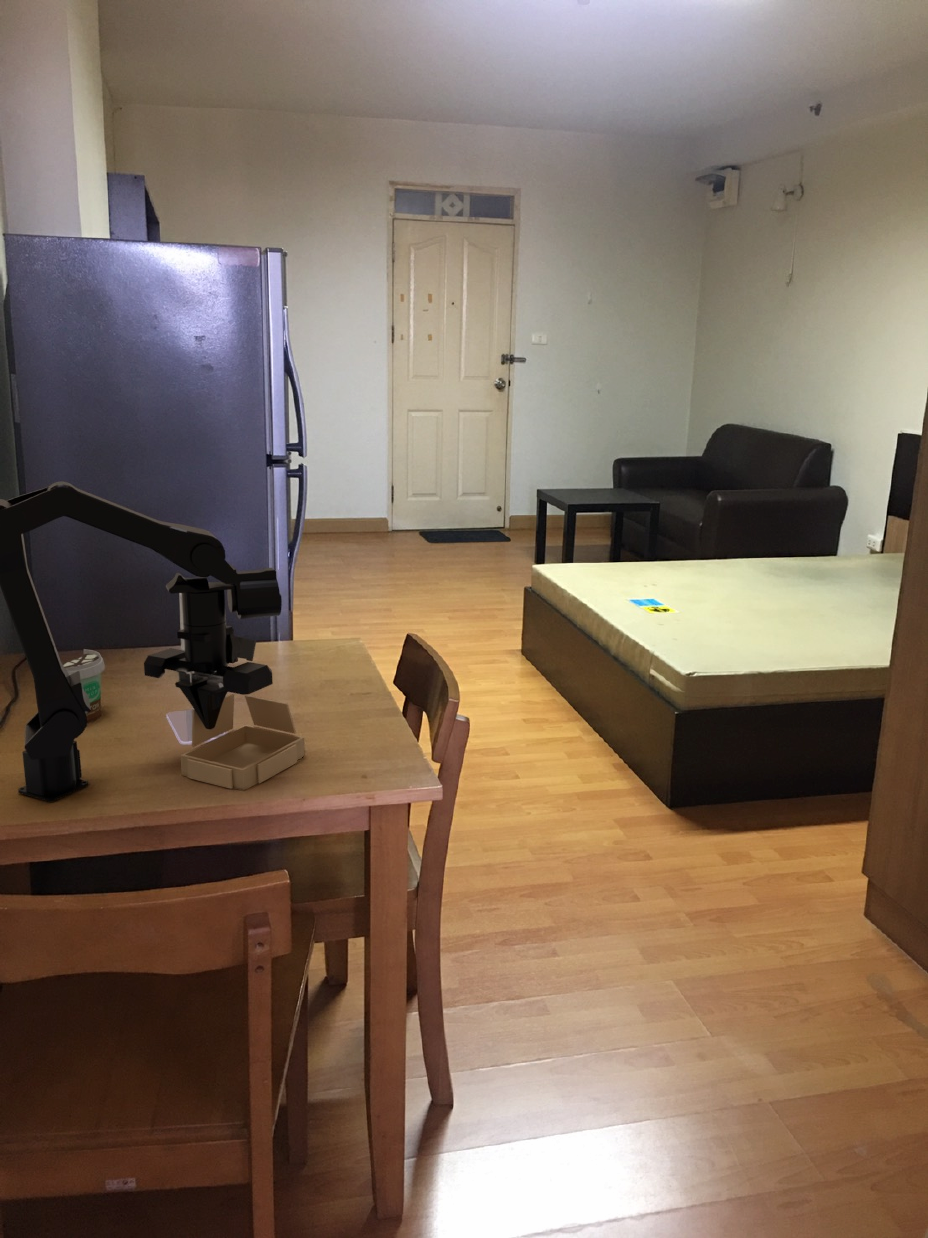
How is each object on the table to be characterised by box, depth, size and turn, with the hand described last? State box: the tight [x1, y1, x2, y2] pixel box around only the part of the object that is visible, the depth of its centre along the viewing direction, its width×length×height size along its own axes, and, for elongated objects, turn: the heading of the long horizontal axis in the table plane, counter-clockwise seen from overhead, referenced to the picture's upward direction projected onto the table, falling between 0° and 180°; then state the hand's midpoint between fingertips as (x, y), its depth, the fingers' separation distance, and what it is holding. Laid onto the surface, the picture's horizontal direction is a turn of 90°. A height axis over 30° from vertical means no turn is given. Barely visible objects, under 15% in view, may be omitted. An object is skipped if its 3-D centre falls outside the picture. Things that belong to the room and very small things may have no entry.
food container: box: [61, 648, 106, 724], centre depth 156 cm, size 12×6×10 cm, turn 168°
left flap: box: [191, 693, 235, 748], centre depth 141 cm, size 9×1×6 cm, turn 153°
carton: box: [180, 724, 306, 792], centre depth 139 cm, size 15×12×3 cm
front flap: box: [244, 694, 297, 735], centre depth 144 cm, size 1×8×6 cm, turn 63°
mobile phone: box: [165, 708, 228, 746], centre depth 155 cm, size 8×1×15 cm
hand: (210, 728), depth 137 cm, fingers closed
